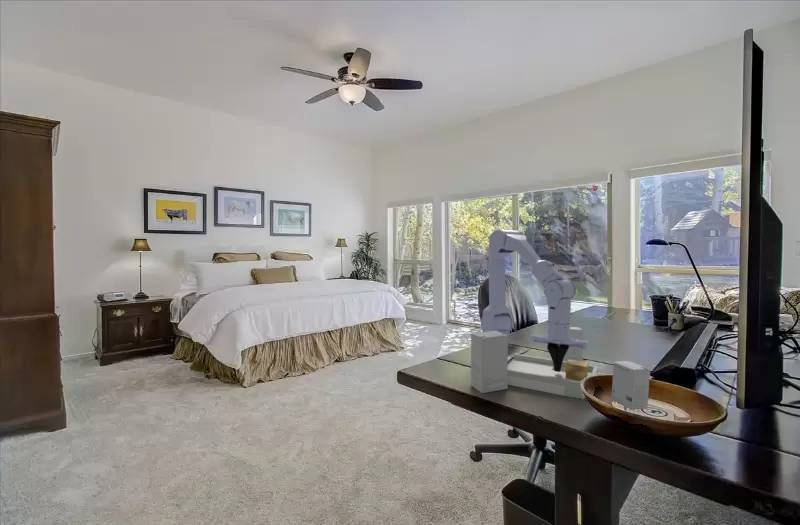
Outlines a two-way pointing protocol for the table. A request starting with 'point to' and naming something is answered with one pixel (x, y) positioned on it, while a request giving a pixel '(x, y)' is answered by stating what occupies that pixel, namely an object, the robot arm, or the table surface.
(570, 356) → the skincare box
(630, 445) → the table surface
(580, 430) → the table surface
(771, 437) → the table surface
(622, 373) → the skincare box
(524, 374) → the trap box
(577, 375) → the ochre block
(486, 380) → the skincare box
